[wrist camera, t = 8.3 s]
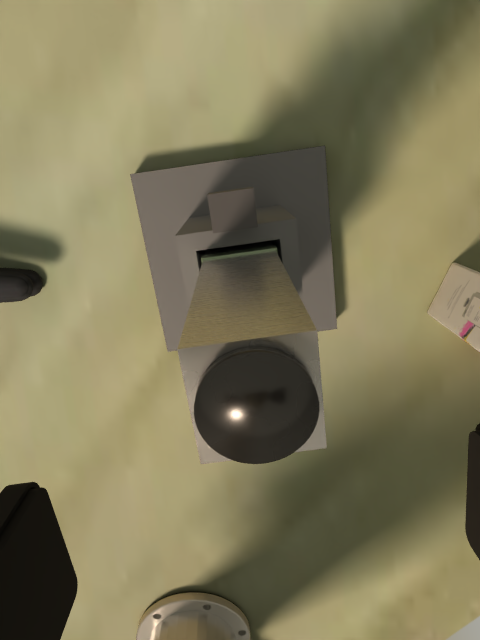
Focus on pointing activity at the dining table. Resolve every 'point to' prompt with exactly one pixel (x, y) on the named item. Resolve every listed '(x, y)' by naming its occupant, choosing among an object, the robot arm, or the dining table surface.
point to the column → (250, 360)
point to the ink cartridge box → (459, 304)
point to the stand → (238, 226)
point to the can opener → (18, 284)
